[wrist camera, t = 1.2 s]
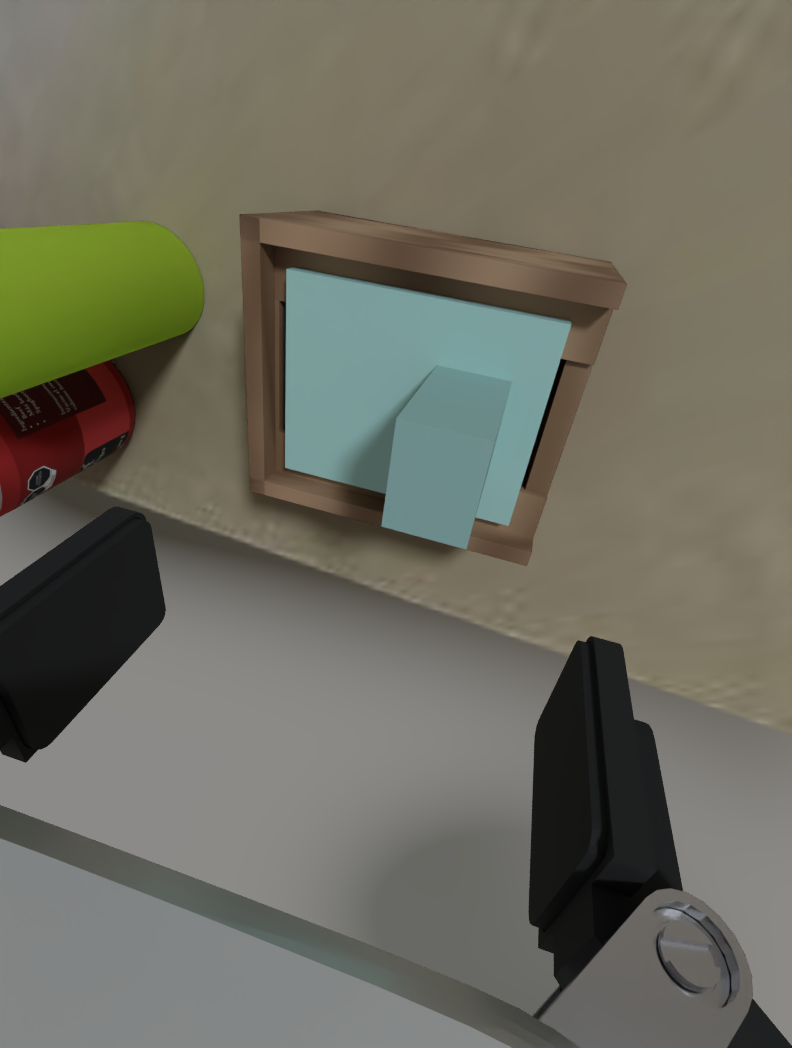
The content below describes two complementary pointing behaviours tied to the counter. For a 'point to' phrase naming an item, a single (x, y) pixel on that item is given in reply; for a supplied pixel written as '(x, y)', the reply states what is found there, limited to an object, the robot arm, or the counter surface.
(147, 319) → the soap dispenser
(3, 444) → the canned food
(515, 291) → the walnut box
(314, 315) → the cover plate
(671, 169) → the counter surface
